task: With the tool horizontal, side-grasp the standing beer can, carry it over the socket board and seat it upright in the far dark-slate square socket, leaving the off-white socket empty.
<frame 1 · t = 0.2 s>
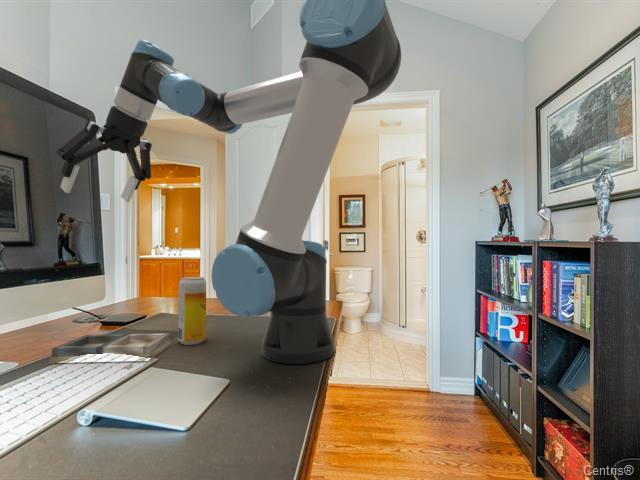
hand: (97, 195, 77), 35 cm above the table, tool tilted 35°, fingers open, 13 cm apart
socket board: (115, 353, 67), on the table
beer can: (192, 342, 76), on the table
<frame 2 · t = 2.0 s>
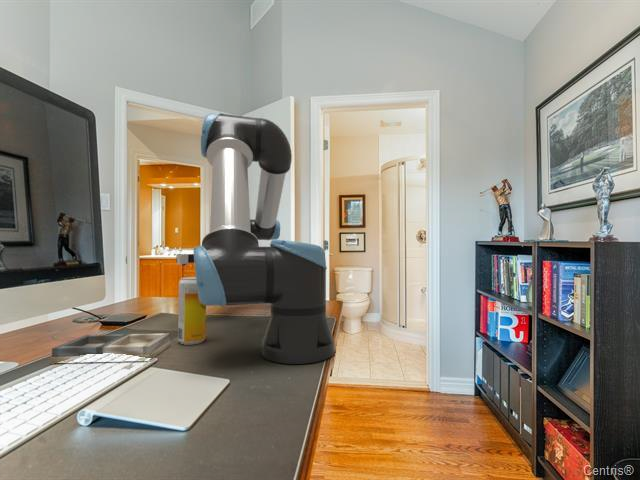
hand: (204, 259, 86), 19 cm above the table, tool horizontal, fingers open, 13 cm apart
nothing on the table moved.
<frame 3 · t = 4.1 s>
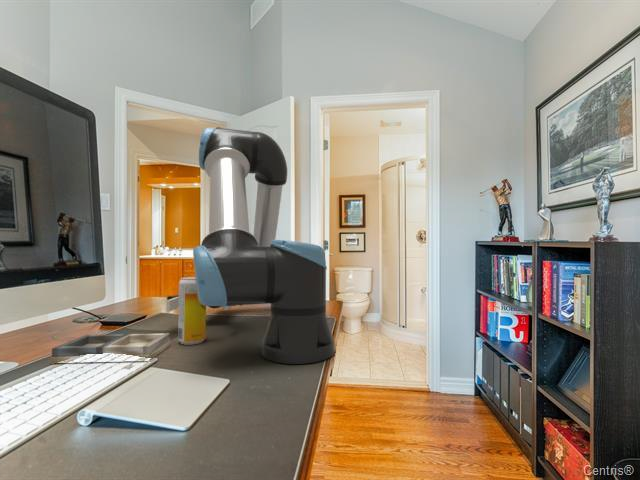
hand: (196, 305, 80), 8 cm above the table, tool horizontal, fingers open, 13 cm apart
nothing on the table moved.
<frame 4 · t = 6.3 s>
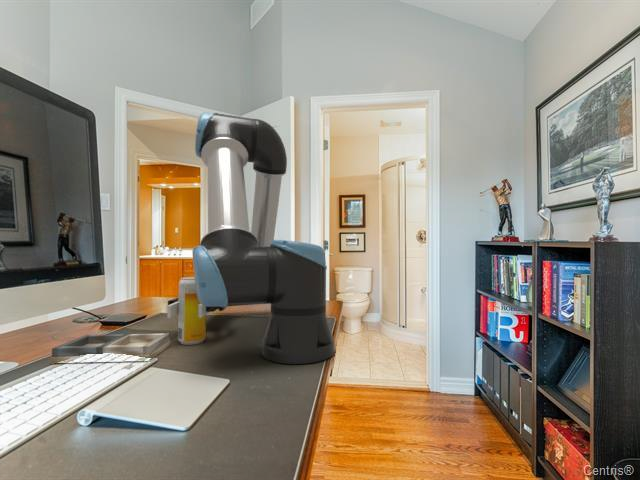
hand: (184, 311, 71), 8 cm above the table, tool horizontal, fingers closed on beer can, 6 cm apart
beer can: (191, 342, 76), on the table, touching gripper
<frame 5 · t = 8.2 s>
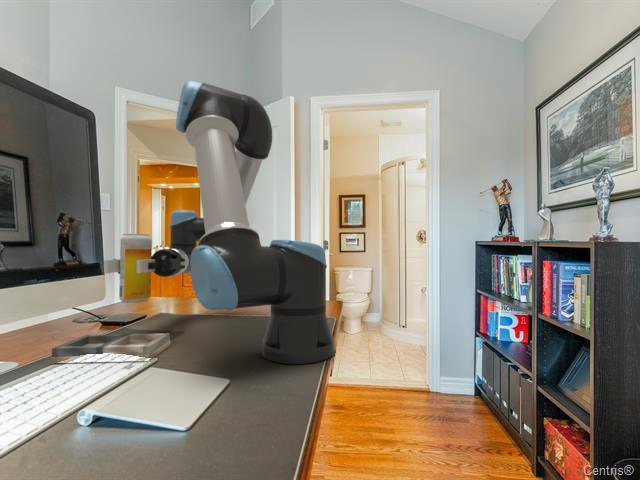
hand: (122, 266, 67), 18 cm above the table, tool horizontal, fingers closed on beer can, 6 cm apart
beer can: (135, 302, 72), point 10 cm above the table, touching gripper
when the fingers open (10 cm above the table, at t = 10.4 s): beer can drops 1 cm, resting on socket board.
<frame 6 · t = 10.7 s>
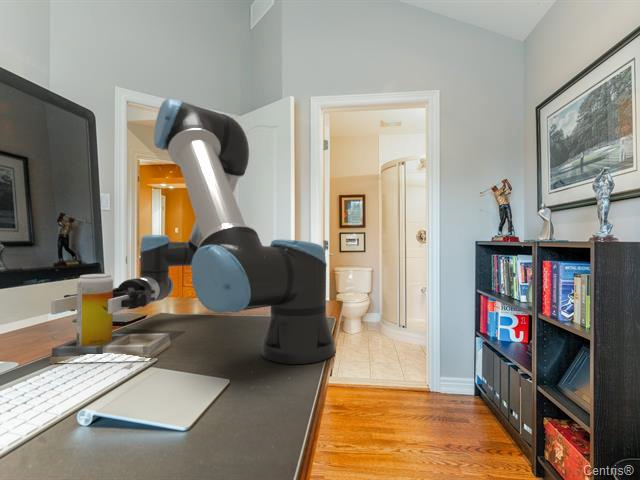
hand: (81, 306, 63), 10 cm above the table, tool horizontal, fingers open, 10 cm apart
beer can: (94, 348, 67), point 1 cm above the table, touching socket board
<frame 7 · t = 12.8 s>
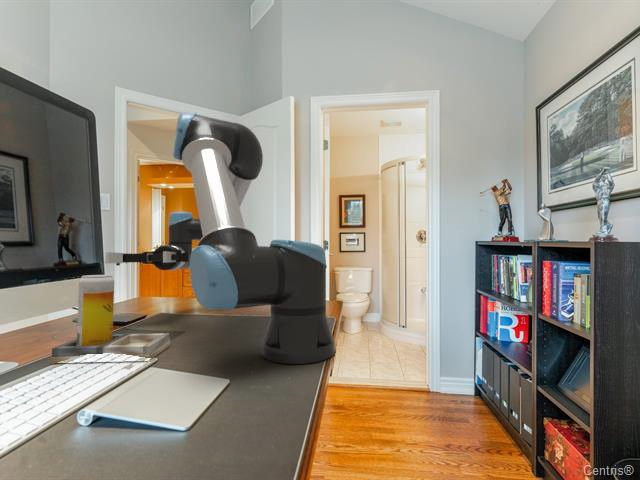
hand: (135, 257, 79), 20 cm above the table, tool horizontal, fingers open, 13 cm apart
nothing on the table moved.
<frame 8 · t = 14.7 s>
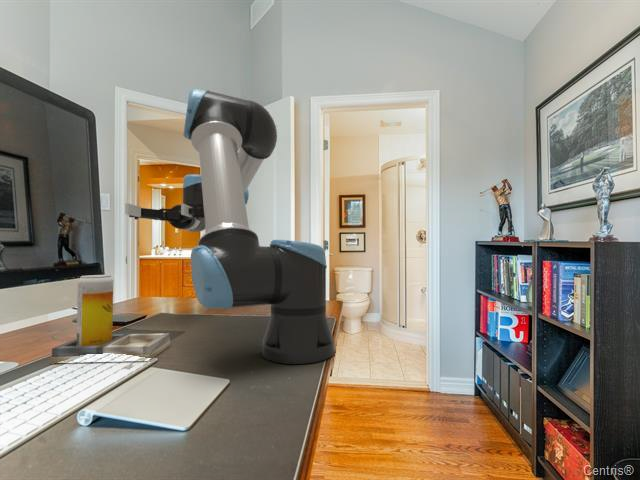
hand: (154, 208, 81), 32 cm above the table, tool horizontal, fingers open, 13 cm apart
nothing on the table moved.
at the end: beer can 0.1 cm from the target spot on the socket board, point 1.0 cm above the socket board's base; beer can tilted 0°; the gripper is holding nothing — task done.
